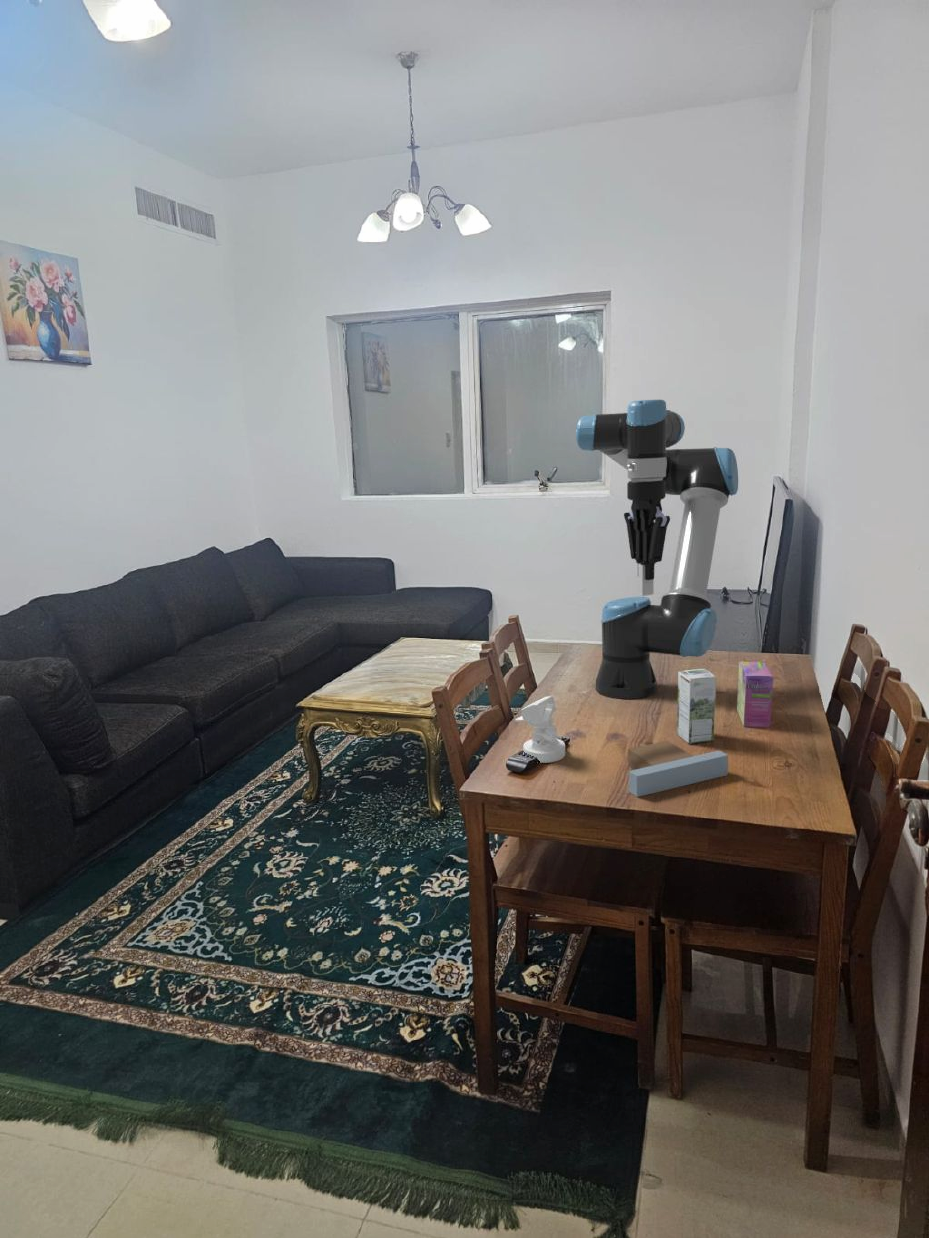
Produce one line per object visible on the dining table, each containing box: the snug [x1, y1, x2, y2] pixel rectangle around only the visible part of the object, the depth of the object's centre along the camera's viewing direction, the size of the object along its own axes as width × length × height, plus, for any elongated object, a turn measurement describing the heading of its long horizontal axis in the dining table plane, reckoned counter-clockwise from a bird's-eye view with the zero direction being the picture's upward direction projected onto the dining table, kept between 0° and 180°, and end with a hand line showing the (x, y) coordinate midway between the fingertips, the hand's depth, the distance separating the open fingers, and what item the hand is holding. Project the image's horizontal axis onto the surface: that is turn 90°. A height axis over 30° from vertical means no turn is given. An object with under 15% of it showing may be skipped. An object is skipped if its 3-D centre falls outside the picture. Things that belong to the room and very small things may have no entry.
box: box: [736, 661, 774, 729], centre depth 170 cm, size 10×6×12 cm, turn 168°
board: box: [628, 750, 729, 798], centre depth 142 cm, size 2×20×4 cm, turn 111°
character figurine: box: [514, 695, 566, 764], centre depth 157 cm, size 9×10×12 cm
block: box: [627, 740, 694, 770], centre depth 147 cm, size 9×9×4 cm
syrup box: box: [676, 668, 717, 745], centre depth 161 cm, size 6×6×14 cm
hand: (645, 594), depth 160 cm, fingers closed
